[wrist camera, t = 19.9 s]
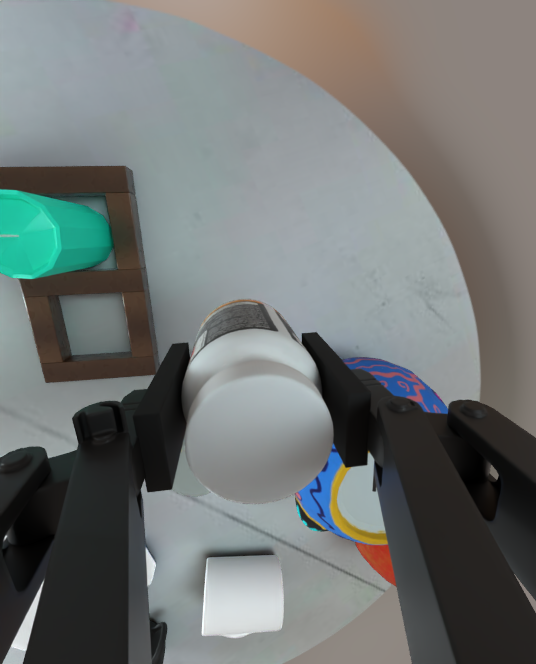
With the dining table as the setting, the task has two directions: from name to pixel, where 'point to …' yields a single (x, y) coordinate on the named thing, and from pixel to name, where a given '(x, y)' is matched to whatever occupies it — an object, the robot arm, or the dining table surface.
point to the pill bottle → (253, 406)
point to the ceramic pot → (359, 469)
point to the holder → (90, 276)
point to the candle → (49, 236)
